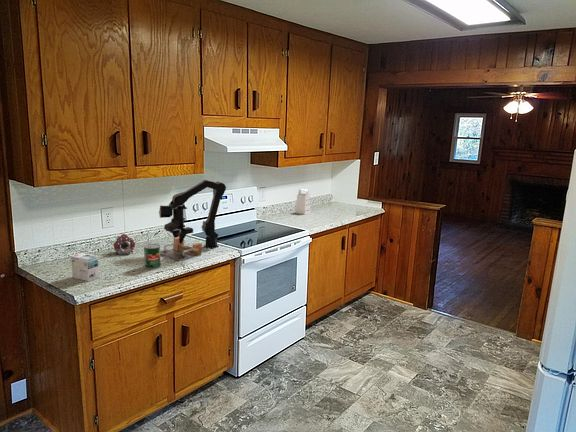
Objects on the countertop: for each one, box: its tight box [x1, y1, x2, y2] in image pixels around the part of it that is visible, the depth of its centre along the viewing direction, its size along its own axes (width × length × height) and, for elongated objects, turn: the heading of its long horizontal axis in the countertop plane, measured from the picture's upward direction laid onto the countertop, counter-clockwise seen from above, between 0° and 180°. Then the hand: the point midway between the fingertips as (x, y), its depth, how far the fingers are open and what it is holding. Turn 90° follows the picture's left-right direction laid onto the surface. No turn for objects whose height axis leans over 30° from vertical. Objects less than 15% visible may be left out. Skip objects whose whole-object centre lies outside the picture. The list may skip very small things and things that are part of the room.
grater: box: [294, 188, 312, 215], centre depth 373 cm, size 10×10×20 cm
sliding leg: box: [163, 237, 185, 251], centre depth 250 cm, size 13×3×7 cm, turn 145°
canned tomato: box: [143, 243, 162, 270], centre depth 223 cm, size 8×8×11 cm
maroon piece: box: [112, 233, 136, 256], centre depth 245 cm, size 11×11×12 cm
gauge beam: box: [172, 242, 203, 257], centre depth 247 cm, size 13×20×6 cm, turn 55°
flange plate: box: [160, 248, 192, 262], centre depth 242 cm, size 8×20×1 cm, turn 55°
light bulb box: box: [70, 252, 101, 282], centre depth 204 cm, size 11×7×11 cm, turn 66°
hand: (178, 243), depth 254 cm, fingers open, 3 cm apart
